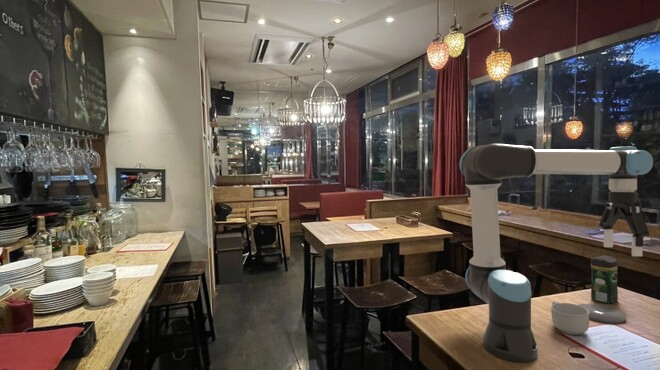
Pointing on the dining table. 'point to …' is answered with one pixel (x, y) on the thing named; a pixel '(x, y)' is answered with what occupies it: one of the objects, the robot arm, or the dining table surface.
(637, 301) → the dining table surface
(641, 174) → the robot arm
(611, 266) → the coffee jar
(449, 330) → the dining table surface
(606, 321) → the charcoal plate
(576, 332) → the teacup
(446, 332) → the dining table surface
